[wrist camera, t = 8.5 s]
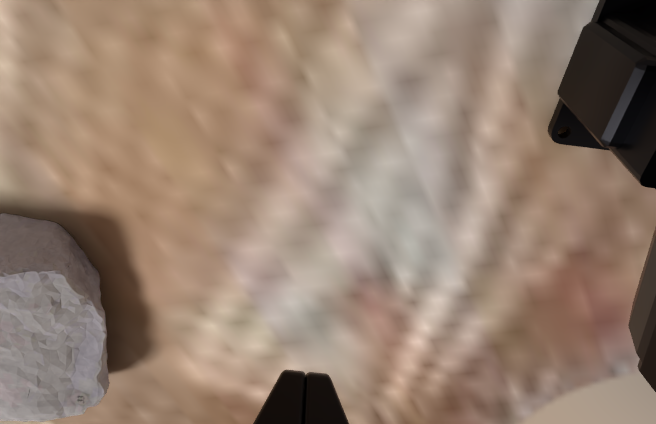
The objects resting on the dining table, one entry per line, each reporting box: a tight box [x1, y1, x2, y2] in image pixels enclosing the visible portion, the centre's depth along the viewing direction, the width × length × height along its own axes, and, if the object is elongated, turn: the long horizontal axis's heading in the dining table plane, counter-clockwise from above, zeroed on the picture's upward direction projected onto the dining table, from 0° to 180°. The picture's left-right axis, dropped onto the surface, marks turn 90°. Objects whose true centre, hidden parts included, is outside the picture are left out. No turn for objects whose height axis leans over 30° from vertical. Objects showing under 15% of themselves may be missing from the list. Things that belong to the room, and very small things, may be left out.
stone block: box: [0, 213, 109, 422], centre depth 26 cm, size 12×5×10 cm
